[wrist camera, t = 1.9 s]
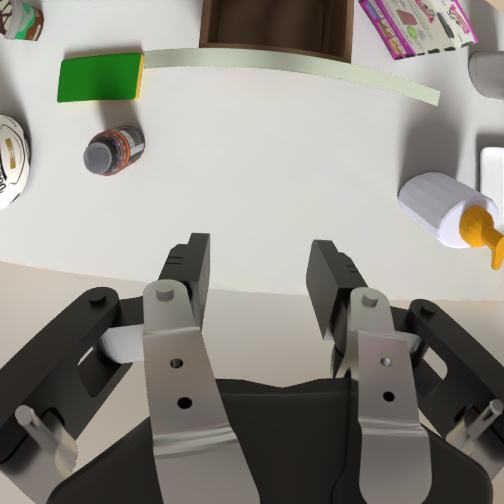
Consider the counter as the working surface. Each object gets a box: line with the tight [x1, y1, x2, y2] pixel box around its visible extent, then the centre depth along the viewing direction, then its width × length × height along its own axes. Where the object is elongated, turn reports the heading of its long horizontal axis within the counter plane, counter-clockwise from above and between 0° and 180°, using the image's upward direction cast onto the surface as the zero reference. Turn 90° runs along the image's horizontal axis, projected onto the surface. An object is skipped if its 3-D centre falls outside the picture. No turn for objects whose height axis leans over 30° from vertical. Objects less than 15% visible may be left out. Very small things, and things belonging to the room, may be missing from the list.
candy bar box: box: [359, 0, 479, 60], centre depth 25 cm, size 11×5×16 cm, turn 32°
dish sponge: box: [57, 53, 144, 103], centre depth 35 cm, size 7×14×2 cm, turn 81°
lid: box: [144, 48, 440, 106], centre depth 19 cm, size 17×17×1 cm
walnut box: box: [199, 0, 354, 64], centre depth 27 cm, size 16×16×12 cm
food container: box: [0, 0, 44, 41], centre depth 23 cm, size 12×6×10 cm, turn 49°
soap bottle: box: [398, 172, 504, 270], centre depth 37 cm, size 13×8×20 cm, turn 101°
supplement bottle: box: [84, 126, 145, 176], centre depth 36 cm, size 6×6×11 cm
